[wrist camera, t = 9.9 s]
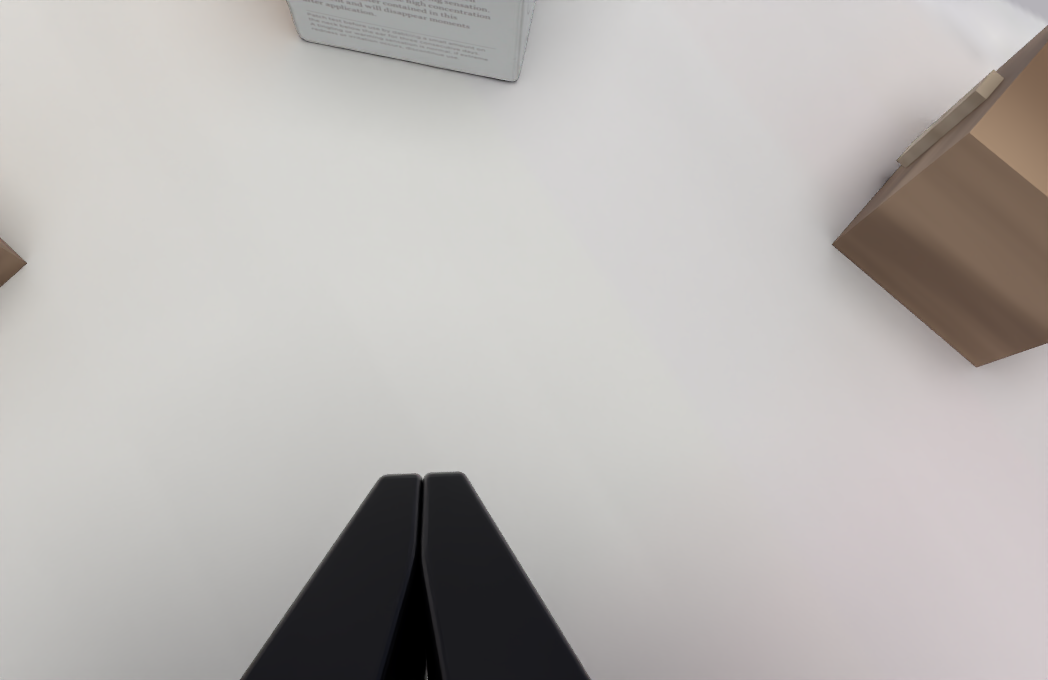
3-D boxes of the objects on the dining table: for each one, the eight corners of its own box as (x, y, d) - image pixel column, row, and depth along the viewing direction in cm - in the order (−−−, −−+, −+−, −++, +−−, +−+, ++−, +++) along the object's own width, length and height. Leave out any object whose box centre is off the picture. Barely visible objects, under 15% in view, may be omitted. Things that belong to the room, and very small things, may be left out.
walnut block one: (975, 367, 24) (1173, 300, 18) (822, 237, 25) (957, 122, 18) (1078, 238, 25) (1303, 126, 19) (929, 115, 26) (1095, -37, 19)
